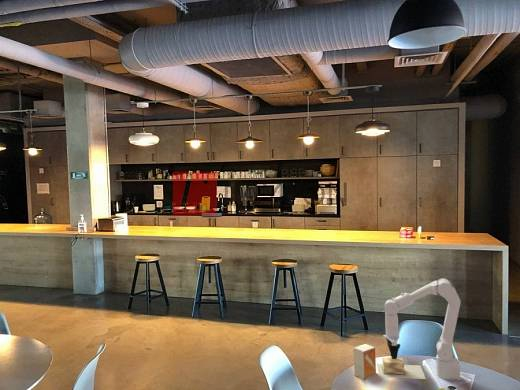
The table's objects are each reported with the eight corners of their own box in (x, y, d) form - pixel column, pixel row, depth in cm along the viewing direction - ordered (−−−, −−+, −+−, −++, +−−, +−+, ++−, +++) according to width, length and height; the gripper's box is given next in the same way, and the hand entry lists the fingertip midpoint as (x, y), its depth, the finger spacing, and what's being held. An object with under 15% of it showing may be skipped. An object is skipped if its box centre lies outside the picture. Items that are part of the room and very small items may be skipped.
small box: (364, 380, 192) (363, 351, 192) (354, 375, 198) (352, 347, 197) (376, 374, 197) (375, 347, 196) (366, 370, 202) (365, 343, 202)
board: (420, 367, 202) (420, 365, 202) (426, 381, 188) (425, 379, 188) (377, 366, 206) (376, 364, 206) (379, 379, 192) (379, 377, 192)
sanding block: (402, 368, 199) (402, 358, 199) (404, 373, 194) (403, 363, 194) (383, 368, 201) (382, 357, 201) (384, 373, 196) (383, 362, 196)
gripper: (381, 321, 205) (382, 348, 205) (384, 331, 191) (385, 361, 191) (396, 321, 204) (397, 349, 204) (400, 331, 189) (402, 362, 190)
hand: (393, 355), depth 197 cm, fingers open, 7 cm apart
